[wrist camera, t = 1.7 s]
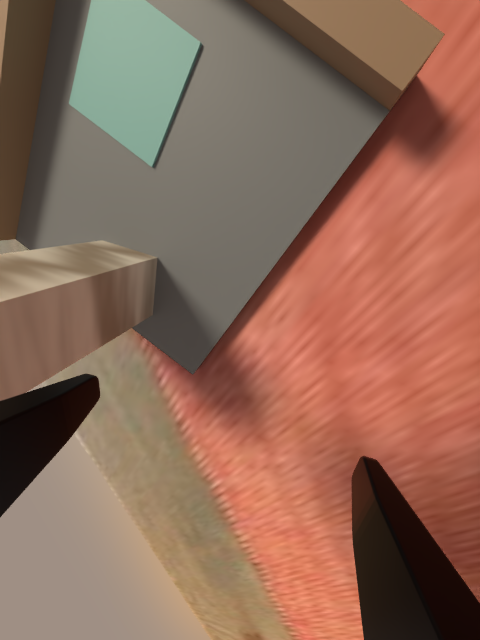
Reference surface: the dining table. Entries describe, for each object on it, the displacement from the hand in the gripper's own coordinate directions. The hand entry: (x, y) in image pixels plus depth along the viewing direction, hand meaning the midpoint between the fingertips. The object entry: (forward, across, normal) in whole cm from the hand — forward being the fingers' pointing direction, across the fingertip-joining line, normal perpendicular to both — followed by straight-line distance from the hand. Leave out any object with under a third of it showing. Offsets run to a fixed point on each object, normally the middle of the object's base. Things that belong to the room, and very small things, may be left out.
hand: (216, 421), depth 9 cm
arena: (+13, +10, -8) cm, 18 cm away
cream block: (+12, +12, +1) cm, 17 cm away
